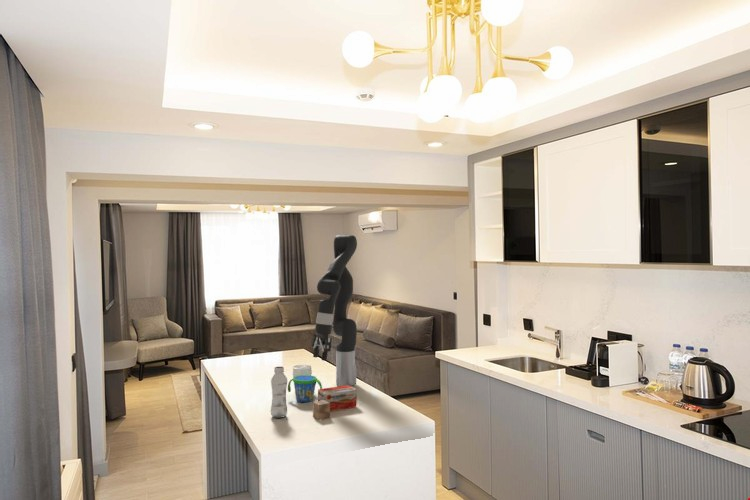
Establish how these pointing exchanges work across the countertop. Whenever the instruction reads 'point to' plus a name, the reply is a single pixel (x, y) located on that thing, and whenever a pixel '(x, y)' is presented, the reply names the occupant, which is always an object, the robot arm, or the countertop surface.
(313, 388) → the snack cup
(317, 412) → the walnut block
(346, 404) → the medicine box
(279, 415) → the plastic bottle
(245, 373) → the countertop surface
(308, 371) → the cup
